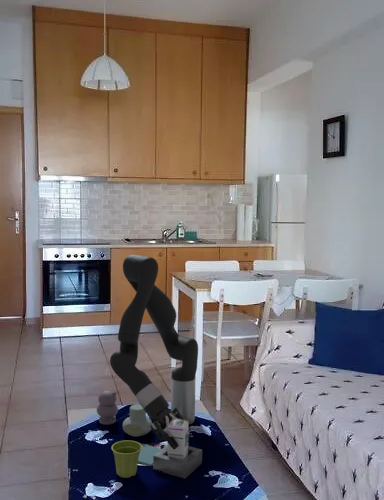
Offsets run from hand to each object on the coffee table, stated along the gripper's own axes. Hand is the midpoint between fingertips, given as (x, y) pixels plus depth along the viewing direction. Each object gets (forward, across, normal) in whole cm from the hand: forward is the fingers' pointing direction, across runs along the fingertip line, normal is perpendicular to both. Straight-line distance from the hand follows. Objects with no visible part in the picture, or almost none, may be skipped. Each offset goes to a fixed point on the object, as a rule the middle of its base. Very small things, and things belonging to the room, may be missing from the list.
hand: (182, 443), depth 173 cm
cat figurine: (-24, +17, +36) cm, 46 cm away
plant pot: (-3, -12, +15) cm, 20 cm away
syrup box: (+5, 0, +7) cm, 8 cm away
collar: (+5, 0, +7) cm, 8 cm away
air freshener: (-13, +14, +25) cm, 31 cm away
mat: (-4, +1, +16) cm, 17 cm away
